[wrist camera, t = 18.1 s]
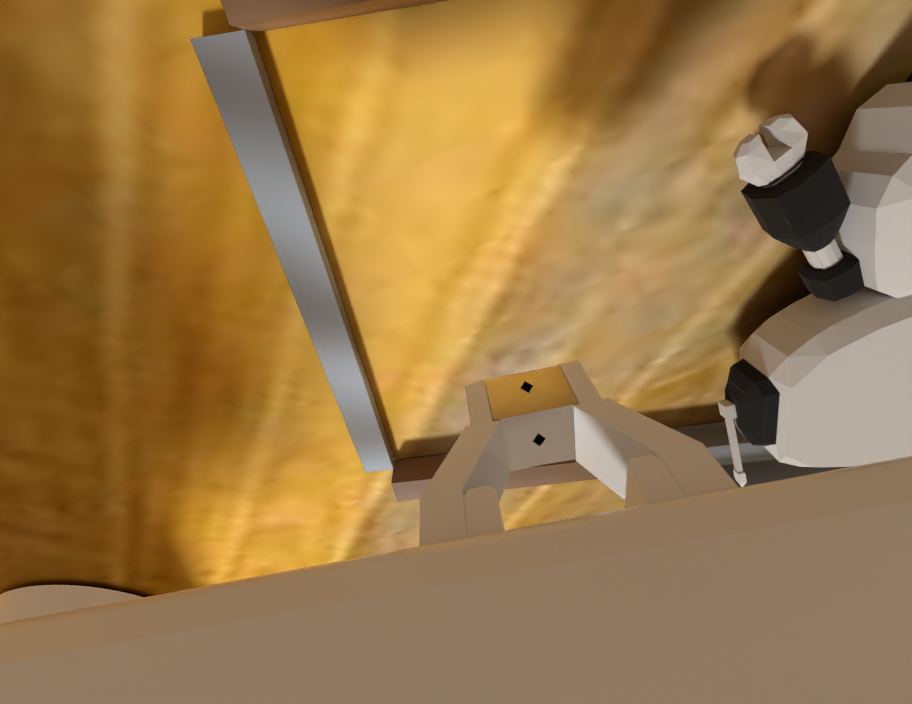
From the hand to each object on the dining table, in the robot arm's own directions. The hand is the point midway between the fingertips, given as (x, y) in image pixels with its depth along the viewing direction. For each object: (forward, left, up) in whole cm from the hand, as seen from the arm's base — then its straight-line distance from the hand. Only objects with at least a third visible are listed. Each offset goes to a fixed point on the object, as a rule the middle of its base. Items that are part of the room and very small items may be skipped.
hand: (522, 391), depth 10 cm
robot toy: (-1, -14, -7) cm, 16 cm away
